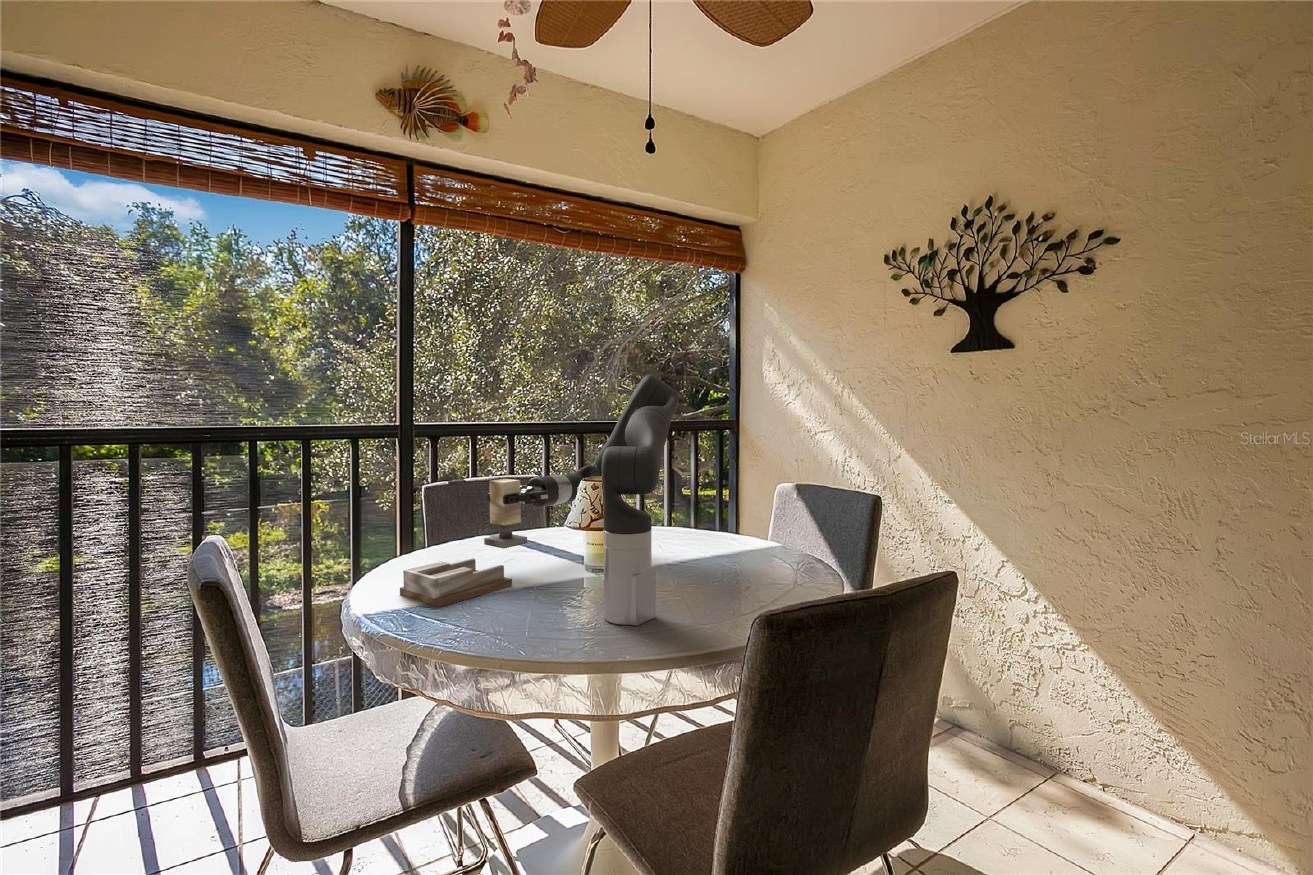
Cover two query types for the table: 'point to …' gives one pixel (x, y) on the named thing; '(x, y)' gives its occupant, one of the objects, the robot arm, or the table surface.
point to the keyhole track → (451, 582)
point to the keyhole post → (504, 514)
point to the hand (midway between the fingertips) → (496, 498)
